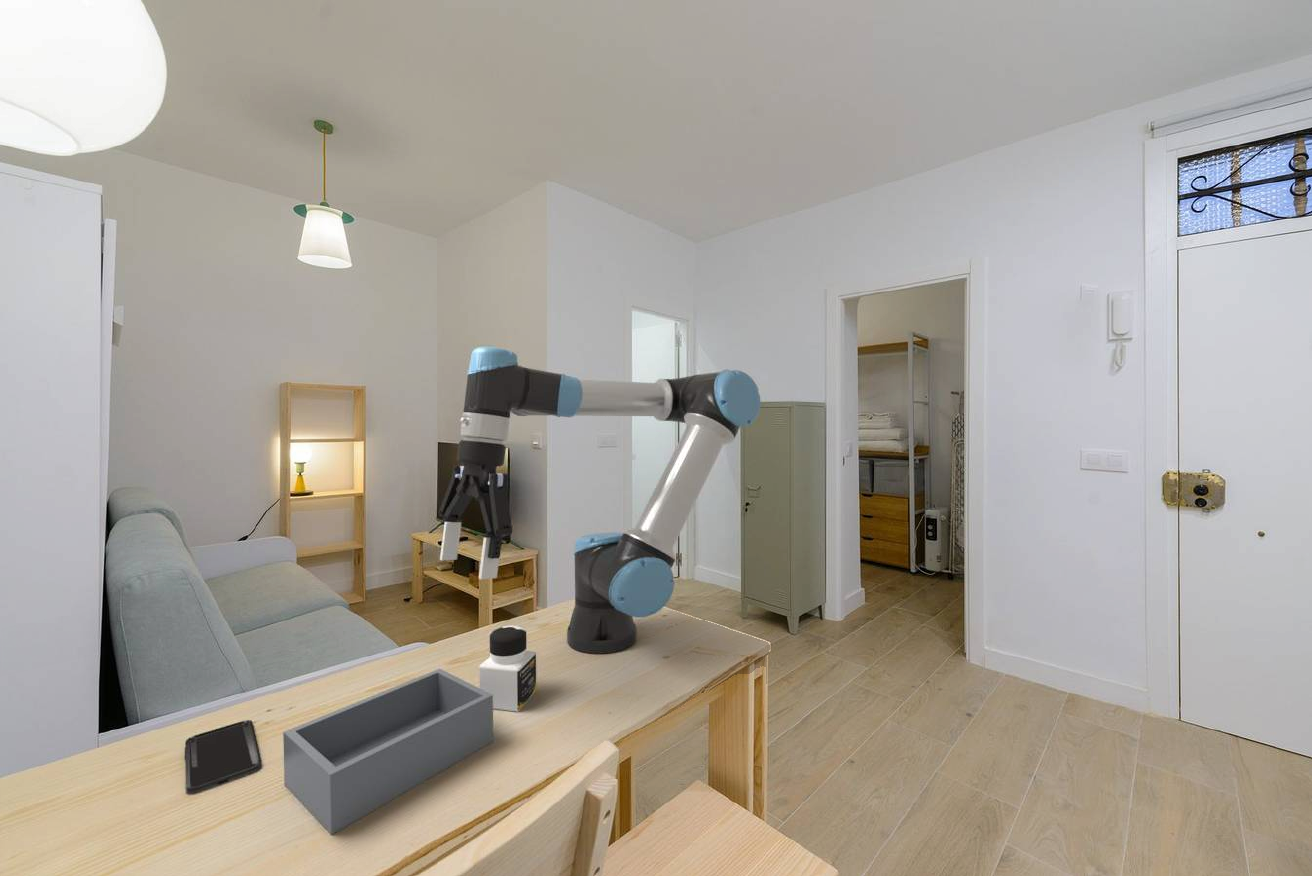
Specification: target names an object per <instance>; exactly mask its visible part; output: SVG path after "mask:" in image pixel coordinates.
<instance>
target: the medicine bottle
mask: <svg viewBox="0 0 1312 876" xmlns="http://www.w3.org/2000/svg"><path fill="white" fill-rule="evenodd" d="M478 683H479V684H478V688H480V689H482V690H484V691H486V692H488V693H490V694H492V695H493V710H500V711H509V712H519V711H520V710H521V709H522V708H523V707H524V705H526V703H527V702H528V701H529V700H530V699H531V698H532V696H533V695H534V693H536V691H537V653H536V651H533V650H532V651H531V650H527V630H526V629H525V628H523V627H522V626H517V625H505V626H501V627H499V628H496V629H494V630H492V631H491V633H490V635H489V657H488V658H487V659H485V660H484V661H483V662H482V663H481V664H480V665H479V667H478Z"/></svg>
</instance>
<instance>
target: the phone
mask: <svg viewBox="0 0 1312 876" xmlns="http://www.w3.org/2000/svg"><path fill="white" fill-rule="evenodd" d="M184 744H185V745H184V746H185V747H184V757H183V759H184V760H185V793H186V795H195V794H200V793H202V792H204V791H206V790H207V791H208V790H210V789H213V788H215V787H218V786H222V785H224V784H226V783H229V782H232V781H235V780H239V779H241V778H244V777H247V776H250V775H252V774H255V773H257V772H258V771H259V770H261V768H262V758H261V754H260V749H259V744H258V739H257V736H256V731H255V726H254V722H253V721H252V720H250V719H247V720H242V721H238V722H235V723H232V724H229V725H225V726H222V727H218V728H215V729H212V730H209V731H204V732H201V733H198V734H195V735H192V736H190V737H188V738H187V739H186V740H185V743H184Z"/></svg>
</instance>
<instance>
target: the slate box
mask: <svg viewBox="0 0 1312 876" xmlns="http://www.w3.org/2000/svg"><path fill="white" fill-rule="evenodd" d="M282 735H283V737H282V739H283V778H284V779H283V780H284V786H285V787H286V789H288V790H289V791H290V792H291V794H292V795H293V796H294V797H295V798H296V799H297V800H298V802H300V803H301V804H302V806H303V807H304V808H305V809H306V810H307V811H308V812H309V813H310V814H311V815H312V816H313V817H314V818H315V819H316V820H317V822H318V823H319V824H320V825H321V826H322V827H323V828H324V829H325V830H326V831H327V832H328V833H329V834H330V835H331V836H332V835H334V834H335V833H337V832H339V831H341V830H342V829H344V828H345V827H347V826H349V825H351V824H352V823H354V822H356V821H358V820H360V819H361V818H364V817H365V816H367V815H368V814H369V813H371V812H373V811H375V810H376V809H379V808H381V807H382V806H384V805H385V804H387V803H389V802H391V801H393V800H394V799H396V798H397V797H400V796H401V795H403V794H405V793H406V792H408V791H410V790H411V789H413V788H415V787H417V786H419V785H420V784H423V783H424V782H425V781H427V780H429V779H431V778H432V777H434V776H436V775H437V774H440V773H441V772H442V771H444V770H447V769H449V768H450V767H451V766H453V765H455V764H457V763H459V762H460V761H462V760H463V759H466V758H467V757H469V756H470V755H473V754H474V753H476V752H478V751H479V750H481V749H483V748H484V747H487V746H488V745H490V744H492V743H493V742H494V709H493V695H492V694H490V693H488V692H486V691H484V690H482V689H480V688H479V686H475V685H474V684H473V683H472V684H471V683H470V682H468V681H466V680H464V679H461V678H460V677H458V676H455V675H454V674H452V673H449V672H447V671H445V670H444V669H441V668H437V669H436V670H433V671H429V672H427V673H426V674H423V675H420V676H419V677H416V678H413V679H411V680H409V681H406V682H403V683H401V684H398V685H396V686H394V687H391V688H389V689H385V690H384V691H381V692H378V693H376V694H374V695H371V696H369V697H367V698H364V699H362V700H360V701H356V702H354V703H351V704H349V705H346V706H345V707H342V708H341V707H340V708H339V709H337V710H336V709H335V711H331V712H330V713H327V714H324V715H321V716H319V717H317V718H315V719H312V720H310V721H307V722H305V723H302V724H300V725H297V726H295V727H293V728H290V729H287V730H285V731H283V734H282Z"/></svg>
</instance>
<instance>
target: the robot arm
mask: <svg viewBox="0 0 1312 876" xmlns="http://www.w3.org/2000/svg"><path fill="white" fill-rule="evenodd" d="M518 364H519V363H518V355H517V354H516V353H515V352H513V351H510V350H506V349H503V348H500V347H491V346H478V347H476V348H474V349H473V350H472V352H471V356H470V361H469V366H468V371H467V373H466V376H467V380H466V385H465V387H466V388H465V395H464V405H463V411H462V417H461V418H460V420H459V421H460V423H461V427H460V428H461V429H460V436H461V437H463V439H461V440H460V441H459V442H458V446H457V447H458V448H457V455H456V460H457V461H458V462H459V463H462V464H464V465H454V466H453V469H452V474H451V479H450V482H449V483H448V486H447V489H446V492H445V495H444V497H443V500H442V502H441V504H440V507H439V510H438V515H439V516H440V517H441V516H442V520H443V522H444V525H443V533H442V541H441V546H440V548H441V549H440V555H439V560H440V561H455V560H458V552H459V545H460V544H459V543H460V536H461V528H462V522H463V518H462V517H463V516H462V515H463V514H464V512H465V510H466V508H467V507H468V506H469V504H470V502H471V501H472V499H473V498H475V501H476V502H478V503H479V507H480V510H481V515H482V518H483V522H484V527H485V529H486V532H485V533H484V535H483V540H482V549H481V557H480V566H479V571H478V580H491V579H497V578H498V572H499V562H500V557H501V551H502V543H503V538H505V537H506V536H511V535H512V534H513V526H512V525H513V524H512V519H511V510H510V509H511V508H510V503H509V495H508V494H509V493H508V474H507V473H497V467H503V466H504V464H505V458H506V451H507V450H506V449H507V446H506V445H505V444H504V442H506V441H508V436H509V428H510V427H509V426H510V421H511V419H510V418H511V414H513V415H516V416H520V417H525V416H526V417H527V416H555V417H557V418H560V417H562V418H573V417H574V416H587V417H588V416H589V417H590V416H593V417H594V416H595V417H596V416H597V417H601V416H602V417H603V416H605V417H654V419H655V420H658V421H660V422H662V421H663V422H665V421H667V422H675V423H684V424H685V425H686V427H685V430H684V432H683V433H682V435H681V438H680V439H679V442H678V443H677V445H676V446H675V448H674V451H673V454H672V455H671V456H670V459H669V461H668V463H667V464H666V467H665V468H664V470H663V472H662V474H661V476H660V478H659V480H658V481H657V484H656V486H655V488H654V490H653V492H652V493H651V496H650V497H649V499H648V501H647V503H646V506H645V507H644V509H643V511H642V513H641V515H640V516H639V519H638V521H637V523H636V525H635V526H634V528H632V529H628V530H626V531H624V532H600V533H593V534H592V533H591V534H585V535H581V536H579V537H577V539H576V540H575V546H574V552H573V555H574V596H575V597H574V608H573V610H572V614H571V618H570V621H569V622H570V623H569V625H568V627H567V631H566V643H567V644H568V646H569V647H570V648H572V649H573V650H575V651H578V652H582V653H587V654H610V653H616V652H620V651H623V650H626V649H627V648H628V649H629V648H630V647H631V646H633V645H634V644H635V643H636V641H637V637H638V635H637V634H638V633H637V632H638V630H637V625H636V623H635V621H634V618H646V617H649V616H652V615H655V614H657V613H658V612H660V611H661V610H662V609H663V608H664V607H665V606H666V604H668V603H669V601H670V599H671V597H672V594H673V592H674V589H675V580H674V573H673V570H672V568H673V566H674V564H675V562H676V560H677V558H676V557H677V556H676V554H675V552H674V546H675V544H676V542H677V540H678V538H679V536H680V534H681V532H682V530H683V528H684V526H685V524H686V522H687V520H688V519H689V515H690V514H691V513H692V509H693V507H694V506H695V504H696V502H697V500H698V498H699V495H700V493H701V491H702V490H703V487H704V485H705V483H706V481H707V479H708V477H709V475H710V473H711V471H712V468H713V467H714V465H715V463H716V461H717V459H718V457H719V455H720V453H721V450H722V448H723V446H724V445H727V444H731V443H733V442H734V441H735V438H736V436H737V434H738V432H739V430H740V428H741V427H746V426H748V425H750V424H752V423H753V422H754V421H755V420H756V419H757V418H758V415H759V413H760V410H761V404H762V403H761V394H760V393H759V388H758V384H756V381H754V378H752V377H751V376H750V375H749V374H747V373H746V372H744V371H742V370H739V369H738V370H736V369H735V370H731V369H724V370H722V371H719V372H718V371H717V372H712V373H711V372H709V373H708V372H707V373H702V374H701V373H700V374H694V375H690V376H684V377H683V376H682V377H679V378H678V377H677V378H659V379H657V380H656V381H655V382H637V381H636V382H635V381H619V380H618V381H616V380H615V381H614V380H613V381H612V380H611V381H610V380H593V379H592V380H589V379H588V380H587V379H578V378H577V377H574V376H571V375H566V374H564V373H555V372H550V371H545V370H540V369H534V368H529V367H524V366H522V365H518ZM633 617H634V618H633Z"/></svg>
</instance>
